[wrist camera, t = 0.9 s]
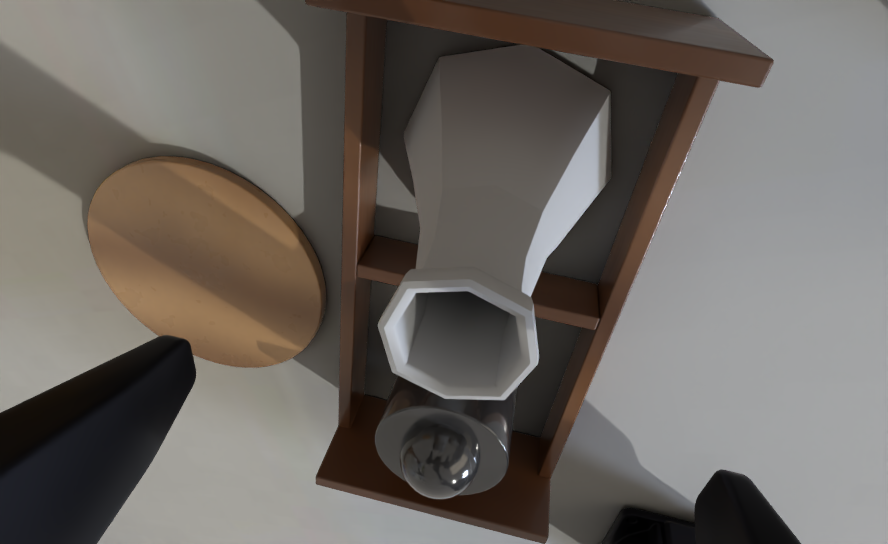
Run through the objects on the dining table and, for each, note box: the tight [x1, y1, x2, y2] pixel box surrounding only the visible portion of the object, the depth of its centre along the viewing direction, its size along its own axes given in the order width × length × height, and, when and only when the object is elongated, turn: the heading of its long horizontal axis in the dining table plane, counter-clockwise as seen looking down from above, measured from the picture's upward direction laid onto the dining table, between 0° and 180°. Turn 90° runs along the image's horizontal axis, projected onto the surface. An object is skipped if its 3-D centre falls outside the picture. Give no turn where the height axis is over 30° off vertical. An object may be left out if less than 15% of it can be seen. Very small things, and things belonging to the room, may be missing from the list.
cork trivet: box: [87, 156, 326, 368], centre depth 24 cm, size 11×11×1 cm
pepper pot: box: [375, 375, 517, 499], centre depth 21 cm, size 5×5×7 cm
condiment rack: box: [305, 0, 774, 544], centre depth 19 cm, size 20×10×5 cm, turn 173°
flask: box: [378, 45, 612, 400], centre depth 14 cm, size 7×7×10 cm
